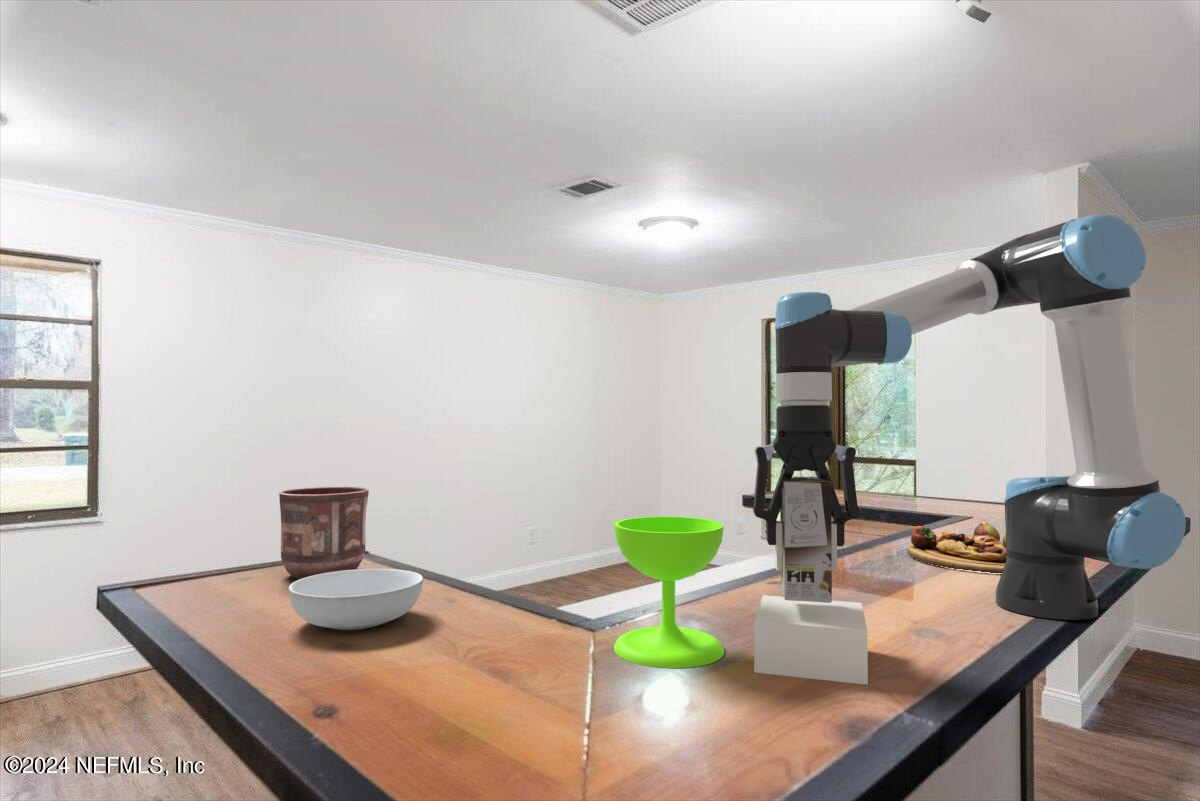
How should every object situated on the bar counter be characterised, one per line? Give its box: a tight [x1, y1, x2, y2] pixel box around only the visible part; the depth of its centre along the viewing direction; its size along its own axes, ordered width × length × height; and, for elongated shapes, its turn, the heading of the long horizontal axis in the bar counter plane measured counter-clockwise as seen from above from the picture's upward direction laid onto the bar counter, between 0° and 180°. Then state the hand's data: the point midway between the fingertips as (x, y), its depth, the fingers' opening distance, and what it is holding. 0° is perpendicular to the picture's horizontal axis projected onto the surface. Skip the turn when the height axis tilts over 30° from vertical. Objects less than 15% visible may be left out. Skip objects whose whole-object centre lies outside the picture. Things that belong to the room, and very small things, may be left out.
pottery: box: [278, 486, 370, 581], centre depth 150 cm, size 18×18×18 cm
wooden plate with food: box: [906, 521, 1006, 573], centre depth 164 cm, size 32×32×8 cm
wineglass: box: [613, 515, 725, 669], centre depth 102 cm, size 16×16×18 cm
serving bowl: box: [288, 568, 424, 631], centre depth 115 cm, size 21×21×7 cm
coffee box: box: [779, 476, 833, 603], centre depth 98 cm, size 9×6×16 cm
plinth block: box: [753, 594, 869, 686], centre depth 97 cm, size 14×14×7 cm
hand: (805, 568), depth 98 cm, fingers closed on coffee box, 7 cm apart
